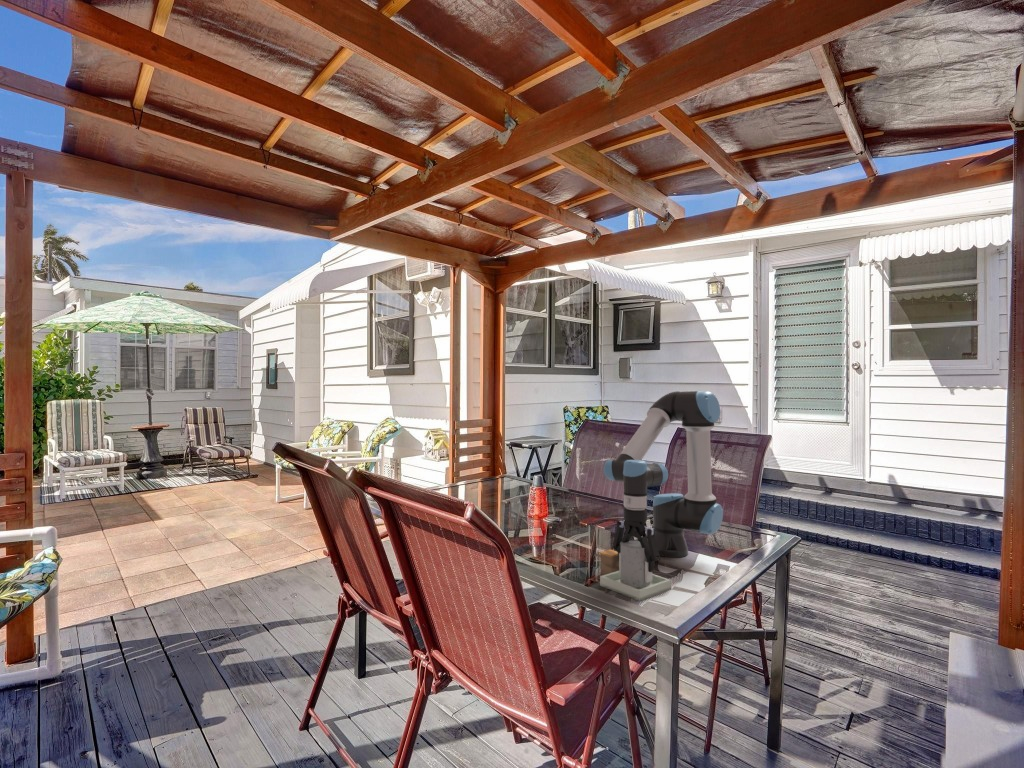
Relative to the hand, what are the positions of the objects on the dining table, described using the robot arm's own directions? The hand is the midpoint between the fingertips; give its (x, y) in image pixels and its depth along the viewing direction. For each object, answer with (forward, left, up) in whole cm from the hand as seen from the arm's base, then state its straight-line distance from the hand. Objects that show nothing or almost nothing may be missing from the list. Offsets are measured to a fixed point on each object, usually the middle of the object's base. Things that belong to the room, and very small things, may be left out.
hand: (635, 576), depth 162 cm
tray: (0, 0, -3) cm, 3 cm away
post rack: (-12, -13, -3) cm, 18 cm away
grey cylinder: (0, 0, -2) cm, 2 cm away
